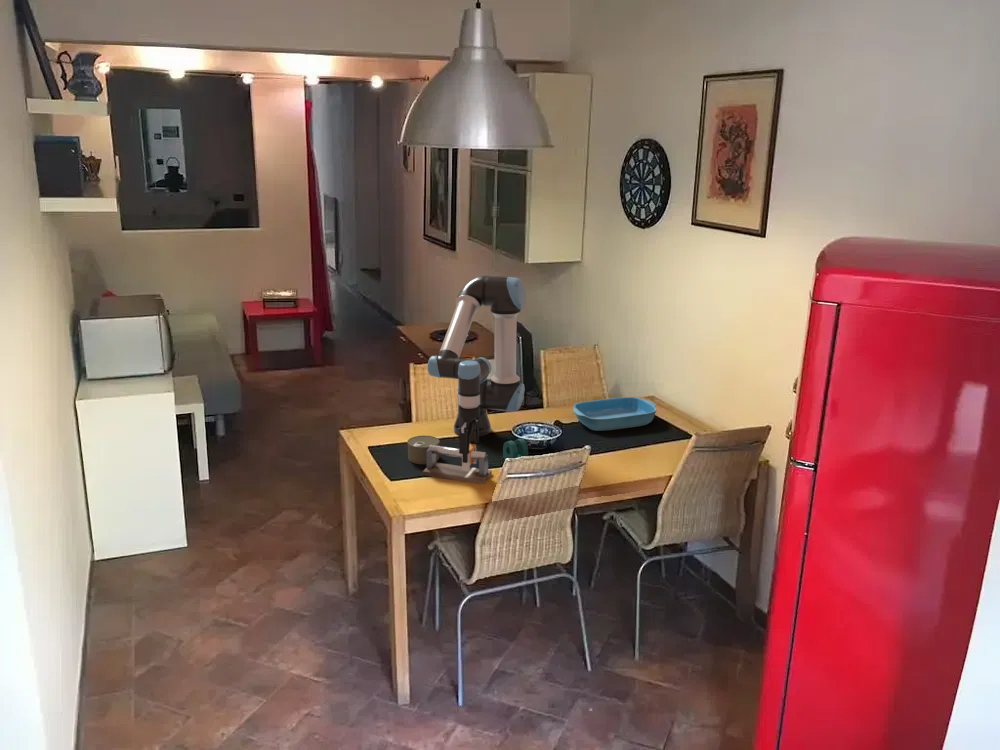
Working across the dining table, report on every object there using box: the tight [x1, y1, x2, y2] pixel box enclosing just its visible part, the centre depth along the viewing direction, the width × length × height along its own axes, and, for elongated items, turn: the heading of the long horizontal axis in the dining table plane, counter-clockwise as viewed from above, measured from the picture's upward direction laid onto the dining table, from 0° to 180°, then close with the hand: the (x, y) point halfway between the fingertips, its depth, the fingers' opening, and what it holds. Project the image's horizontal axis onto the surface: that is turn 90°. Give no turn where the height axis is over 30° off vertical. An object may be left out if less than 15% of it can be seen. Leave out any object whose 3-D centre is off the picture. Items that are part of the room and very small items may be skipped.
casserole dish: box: [572, 396, 657, 432], centre depth 350 cm, size 37×22×7 cm, turn 109°
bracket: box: [502, 437, 529, 460], centre depth 306 cm, size 18×7×8 cm, turn 33°
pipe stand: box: [422, 445, 493, 485], centre depth 296 cm, size 9×23×10 cm, turn 72°
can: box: [406, 435, 441, 465], centre depth 311 cm, size 12×12×7 cm
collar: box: [469, 444, 477, 466], centre depth 293 cm, size 6×3×6 cm, turn 162°
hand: (469, 466), depth 295 cm, fingers closed on collar, 6 cm apart
